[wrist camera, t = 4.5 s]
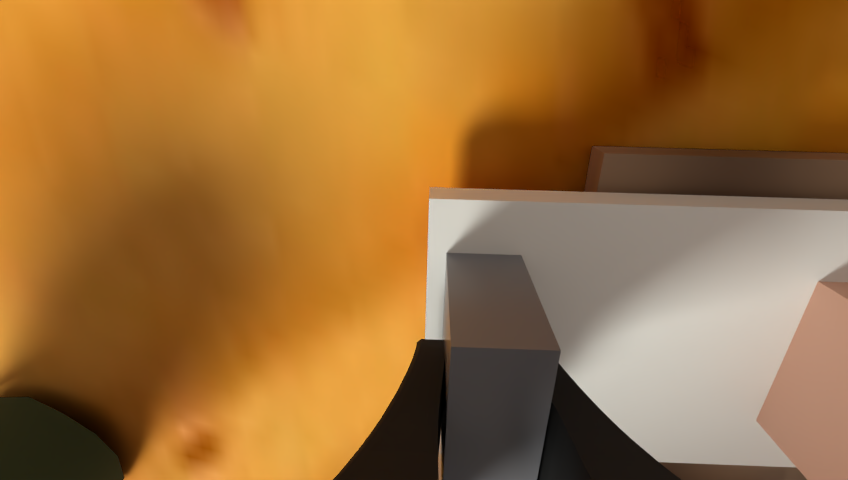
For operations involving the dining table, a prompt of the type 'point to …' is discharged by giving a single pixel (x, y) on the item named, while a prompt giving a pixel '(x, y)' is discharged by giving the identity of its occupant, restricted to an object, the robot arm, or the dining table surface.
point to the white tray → (619, 317)
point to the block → (814, 389)
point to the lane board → (720, 178)
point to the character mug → (50, 445)
